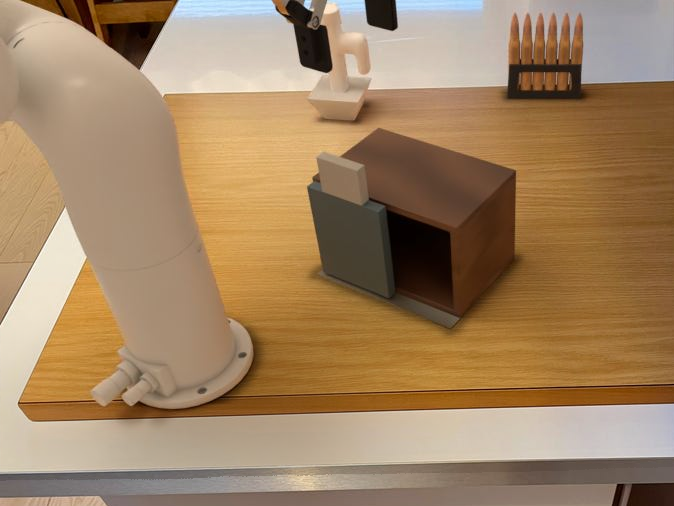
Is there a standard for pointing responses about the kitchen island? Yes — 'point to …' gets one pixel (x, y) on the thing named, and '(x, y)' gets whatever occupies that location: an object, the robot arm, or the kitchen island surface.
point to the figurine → (341, 71)
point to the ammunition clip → (545, 60)
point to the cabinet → (438, 222)
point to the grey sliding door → (350, 226)
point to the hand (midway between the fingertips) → (351, 47)
